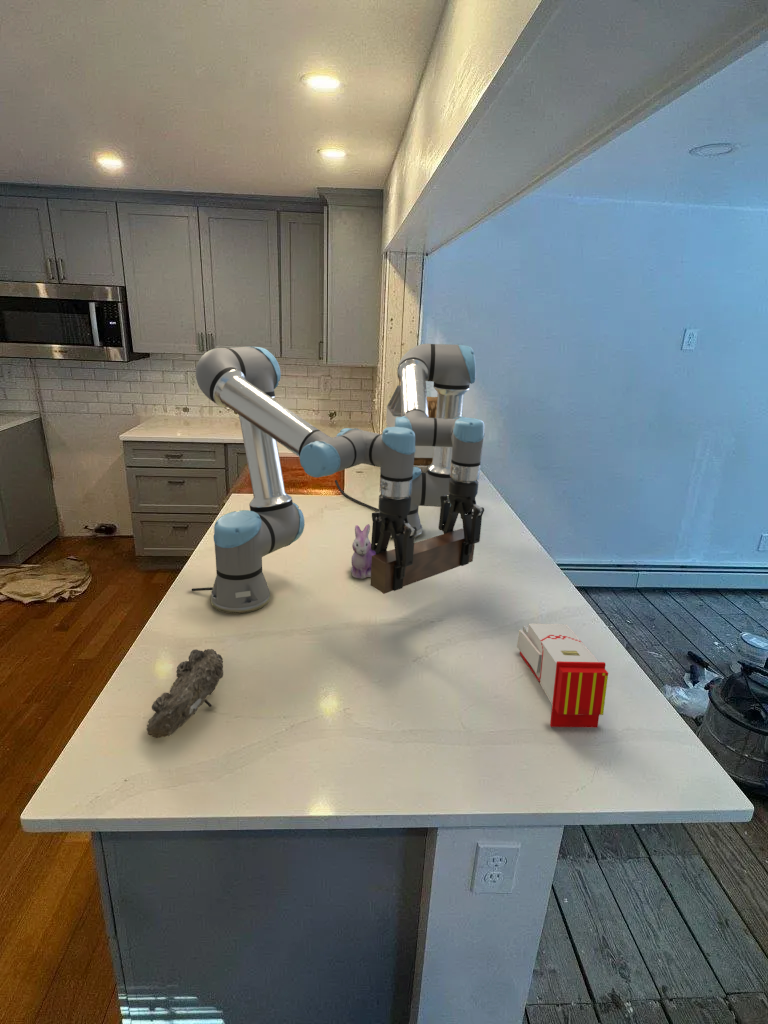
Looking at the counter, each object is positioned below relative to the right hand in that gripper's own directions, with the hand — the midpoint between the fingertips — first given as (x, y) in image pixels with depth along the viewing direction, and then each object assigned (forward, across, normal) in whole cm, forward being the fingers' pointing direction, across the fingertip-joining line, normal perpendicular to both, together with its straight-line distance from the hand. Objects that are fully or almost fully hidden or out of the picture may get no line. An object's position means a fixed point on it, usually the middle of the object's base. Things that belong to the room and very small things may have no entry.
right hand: (456, 560), depth 154 cm
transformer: (+13, -95, +79) cm, 125 cm away
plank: (0, 0, -12) cm, 12 cm away
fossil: (+10, 0, -75) cm, 76 cm away
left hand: (0, 0, -24) cm, 24 cm away
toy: (+10, +40, -12) cm, 43 cm away
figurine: (+11, -26, -11) cm, 30 cm away
